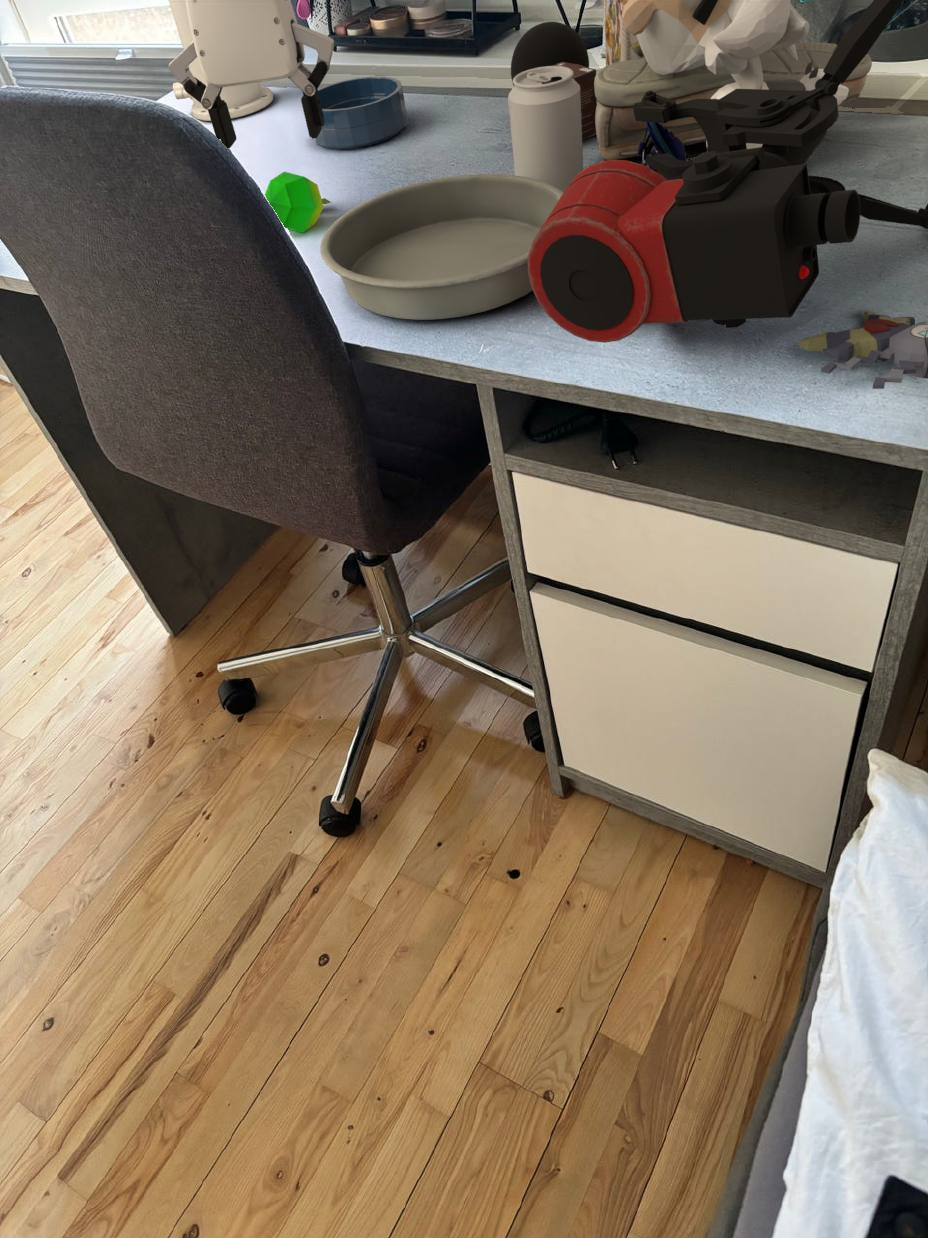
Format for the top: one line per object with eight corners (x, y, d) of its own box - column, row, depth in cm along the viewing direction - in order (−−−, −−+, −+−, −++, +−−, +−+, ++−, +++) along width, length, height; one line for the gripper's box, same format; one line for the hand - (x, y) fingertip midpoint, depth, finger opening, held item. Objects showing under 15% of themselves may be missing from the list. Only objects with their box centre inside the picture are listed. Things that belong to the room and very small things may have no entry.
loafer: (858, 29, 102) (839, 118, 109) (591, 51, 104) (589, 137, 111) (885, 64, 95) (863, 156, 102) (597, 87, 97) (595, 176, 104)
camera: (972, 227, 82) (869, 426, 69) (667, 252, 101) (539, 412, 87) (971, -108, 66) (837, 66, 53) (609, -6, 85) (440, 142, 71)
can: (565, 210, 99) (558, 87, 90) (504, 204, 102) (492, 84, 93) (595, 182, 103) (592, 62, 94) (536, 177, 106) (528, 60, 98)
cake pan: (567, 201, 99) (564, 157, 96) (585, 312, 82) (583, 263, 79) (343, 231, 101) (334, 189, 98) (316, 344, 84) (303, 298, 81)
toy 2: (894, 278, 76) (1079, 304, 64) (890, 324, 78) (1069, 357, 66) (764, 332, 71) (940, 371, 59) (764, 380, 73) (933, 427, 61)
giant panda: (707, 188, 98) (712, 89, 91) (695, 168, 101) (699, 72, 95) (846, 166, 97) (863, 65, 90) (829, 147, 101) (844, 49, 94)
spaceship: (651, 167, 96) (632, 199, 101) (705, 165, 97) (684, 197, 102) (634, 106, 97) (616, 141, 102) (687, 106, 99) (667, 140, 104)
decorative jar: (697, 95, 117) (704, -78, 105) (721, 125, 109) (733, -60, 96) (604, 111, 118) (599, -60, 105) (621, 142, 110) (619, -39, 97)
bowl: (301, 154, 123) (290, 114, 119) (328, 119, 131) (319, 81, 128) (395, 147, 120) (388, 105, 116) (417, 112, 129) (411, 72, 125)
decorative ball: (605, 108, 119) (603, 19, 112) (538, 129, 117) (532, 40, 110) (564, 91, 126) (560, 6, 119) (501, 112, 124) (492, 26, 117)
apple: (293, 234, 100) (352, 229, 107) (286, 170, 98) (347, 168, 104) (252, 234, 105) (311, 229, 111) (244, 172, 102) (305, 171, 108)
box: (529, 140, 115) (524, 75, 110) (565, 125, 117) (562, 60, 112) (562, 150, 111) (558, 82, 106) (599, 134, 113) (597, 67, 108)
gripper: (317, -76, 88) (356, 117, 100) (148, -48, 91) (206, 137, 103) (302, -61, 83) (345, 141, 95) (123, -32, 86) (187, 161, 98)
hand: (273, 139), depth 99 cm, fingers open, 9 cm apart
